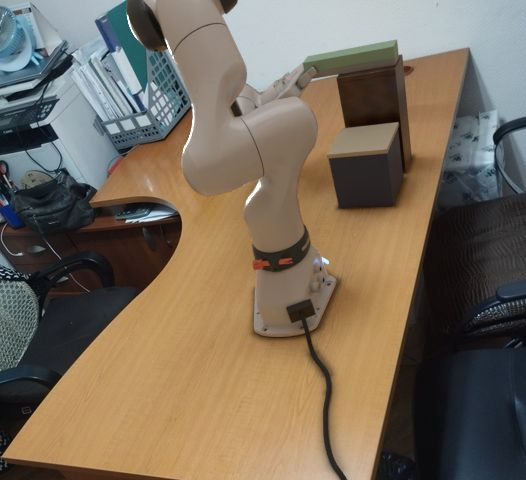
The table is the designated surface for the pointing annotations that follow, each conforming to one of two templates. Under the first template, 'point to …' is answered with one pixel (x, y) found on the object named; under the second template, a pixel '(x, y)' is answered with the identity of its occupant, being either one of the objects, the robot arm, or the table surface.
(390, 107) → the shelf
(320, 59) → the green box
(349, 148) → the archive box
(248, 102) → the robot arm
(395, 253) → the table surface
